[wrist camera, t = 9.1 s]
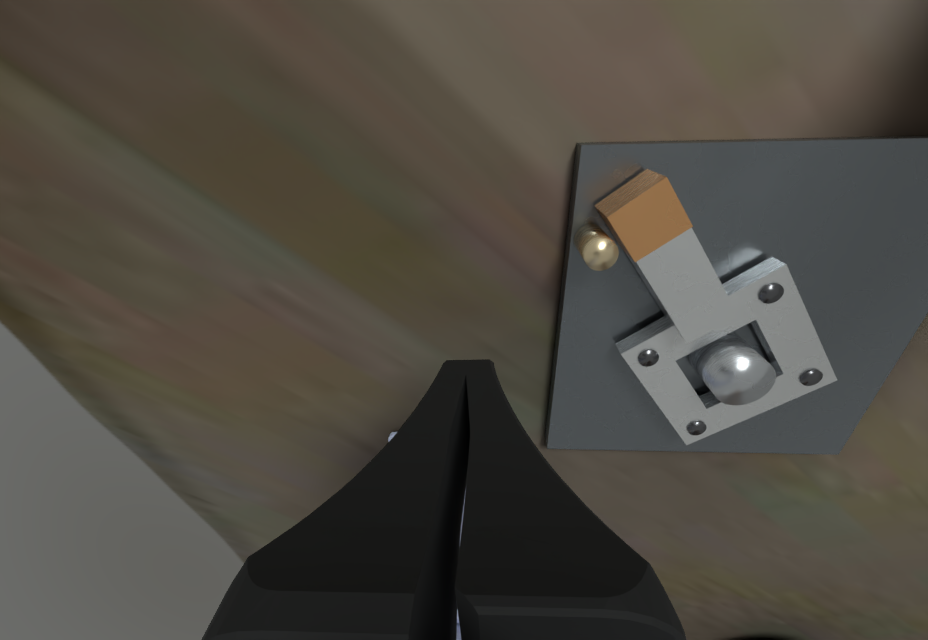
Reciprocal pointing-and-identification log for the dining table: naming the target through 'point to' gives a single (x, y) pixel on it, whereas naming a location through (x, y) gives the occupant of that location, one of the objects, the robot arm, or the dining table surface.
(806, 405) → the base plate
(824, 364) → the silver flat metal piece
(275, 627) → the robot arm
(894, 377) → the dining table surface
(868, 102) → the dining table surface
